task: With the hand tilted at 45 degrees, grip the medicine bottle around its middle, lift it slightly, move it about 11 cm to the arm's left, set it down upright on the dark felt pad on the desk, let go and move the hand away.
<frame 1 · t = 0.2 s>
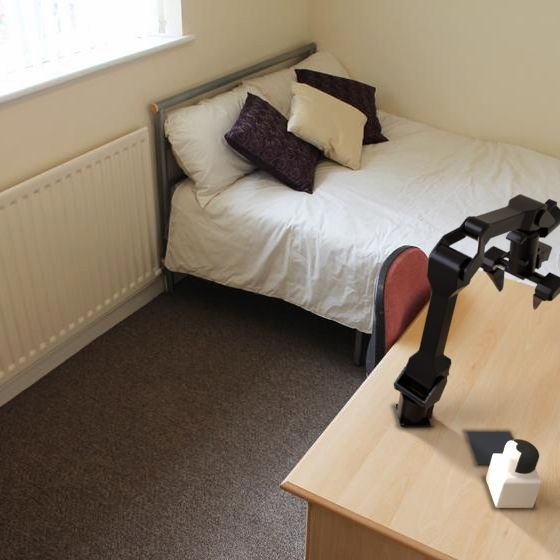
hand: (517, 299, 162), 15 cm above the table, tool pointing down, fingers open, 9 cm apart
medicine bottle: (508, 494, 135), on the table
felt pad: (493, 448, 144), on the table
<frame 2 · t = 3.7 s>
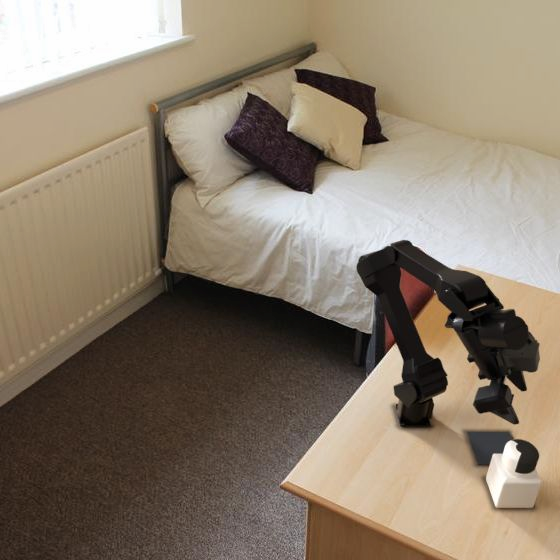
hand: (520, 406, 132), 15 cm above the table, tool tilted 40°, fingers open, 9 cm apart
nothing on the table moved.
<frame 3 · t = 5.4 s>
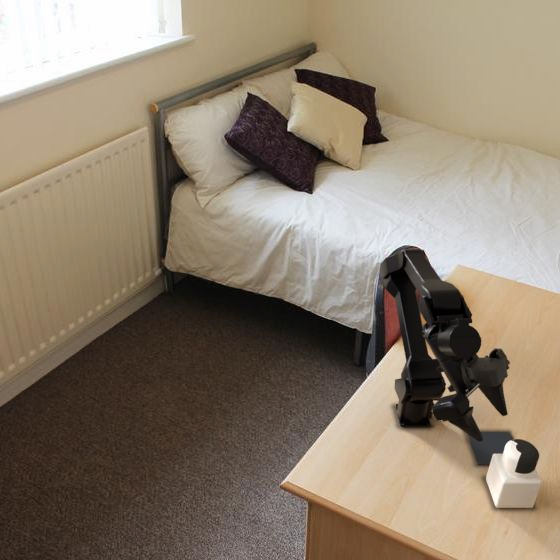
hand: (493, 427, 131), 13 cm above the table, tool tilted 45°, fingers open, 9 cm apart
nothing on the table moved.
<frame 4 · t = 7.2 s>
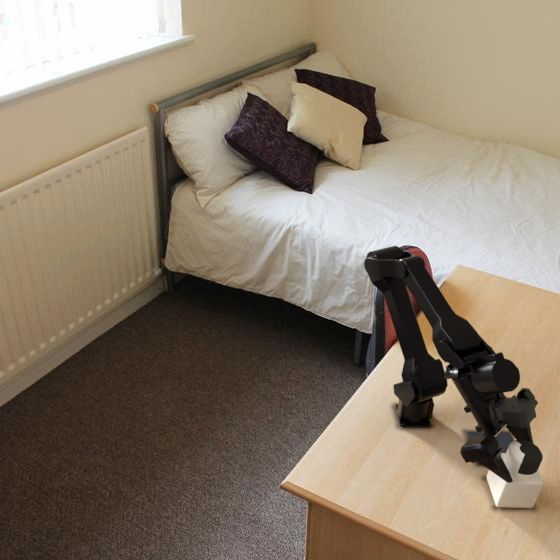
hand: (522, 467, 130), 8 cm above the table, tool tilted 45°
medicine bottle: (508, 493, 135), on the table, touching gripper
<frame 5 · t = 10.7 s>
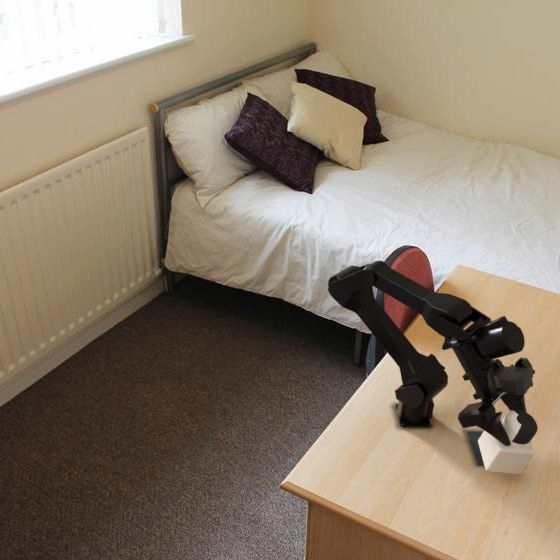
hand: (517, 435, 133), 10 cm above the table, tool tilted 45°, fingers closed on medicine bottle, 7 cm apart
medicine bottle: (497, 458, 138), point 3 cm above the table, touching gripper
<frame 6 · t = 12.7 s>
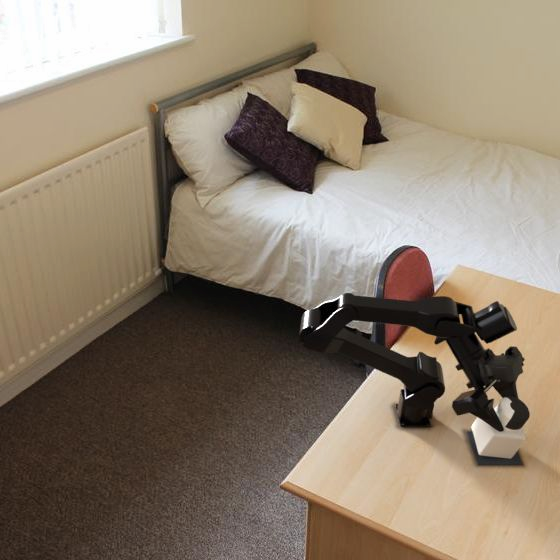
hand: (510, 421, 139), 9 cm above the table, tool tilted 45°, fingers closed on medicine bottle, 7 cm apart
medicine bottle: (490, 443, 144), point 1 cm above the table, touching felt pad, gripper
when the fingers open (9 cm above the table, at t = 14.2 s): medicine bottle drops 1 cm, resting on felt pad.
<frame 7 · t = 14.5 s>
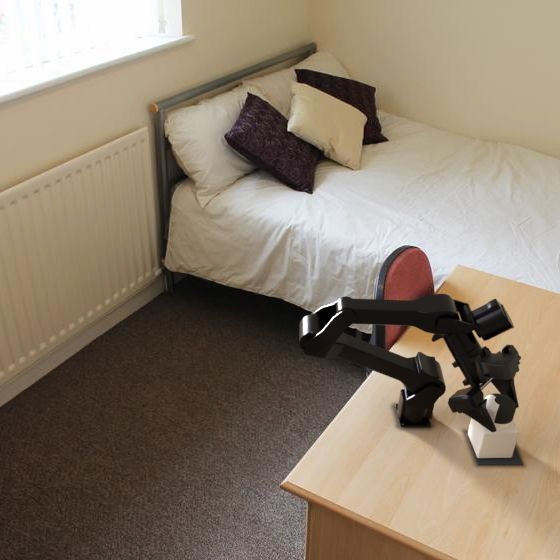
hand: (505, 419, 139), 9 cm above the table, tool tilted 45°, fingers open, 9 cm apart
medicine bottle: (488, 446, 144), resting on felt pad
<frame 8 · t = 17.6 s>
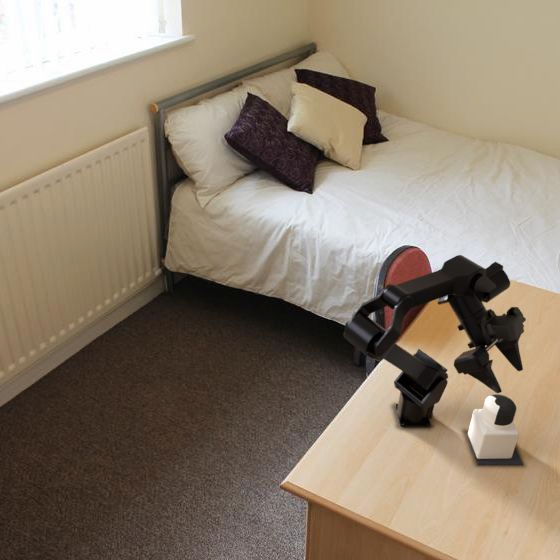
hand: (510, 381, 141), 14 cm above the table, tool tilted 45°, fingers open, 9 cm apart
nothing on the table moved.
at the end: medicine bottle 1.0 cm off-centre on the felt pad, point 0.0 cm above the felt pad's base; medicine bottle tilted 0°; the gripper is holding nothing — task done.
